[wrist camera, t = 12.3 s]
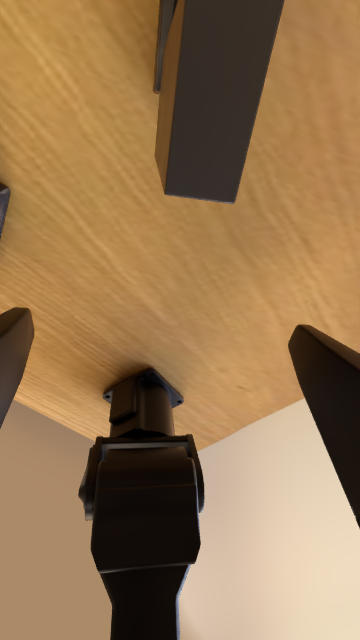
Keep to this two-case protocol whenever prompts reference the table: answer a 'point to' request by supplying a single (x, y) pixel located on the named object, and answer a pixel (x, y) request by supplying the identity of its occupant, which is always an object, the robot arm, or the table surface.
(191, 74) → the door
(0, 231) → the small box
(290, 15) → the table surface
